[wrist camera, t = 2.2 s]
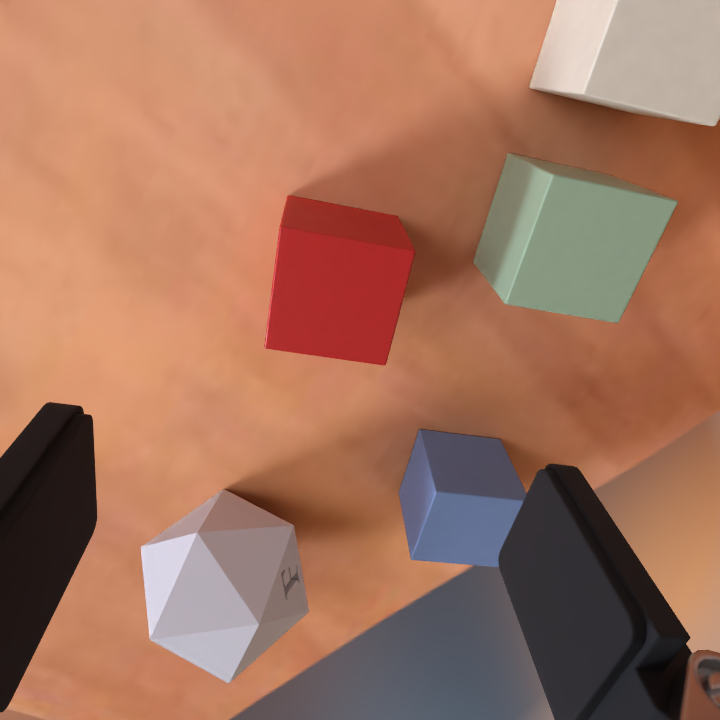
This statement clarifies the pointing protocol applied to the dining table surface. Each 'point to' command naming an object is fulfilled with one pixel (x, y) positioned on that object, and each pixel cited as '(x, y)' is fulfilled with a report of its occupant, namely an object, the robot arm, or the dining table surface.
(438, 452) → the blue block
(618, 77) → the cream block
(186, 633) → the die
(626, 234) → the sage block
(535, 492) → the robot arm
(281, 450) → the dining table surface
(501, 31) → the dining table surface
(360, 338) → the red block
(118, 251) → the dining table surface
